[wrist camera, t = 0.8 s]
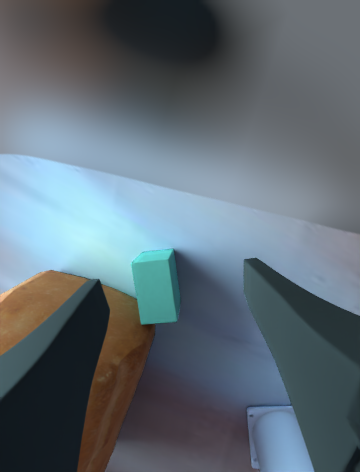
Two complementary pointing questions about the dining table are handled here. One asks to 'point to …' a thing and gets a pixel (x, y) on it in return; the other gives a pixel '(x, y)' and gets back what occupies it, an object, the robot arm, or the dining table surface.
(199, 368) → the dining table surface
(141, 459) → the dining table surface
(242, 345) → the dining table surface
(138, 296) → the teal rectangular block
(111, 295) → the bread
